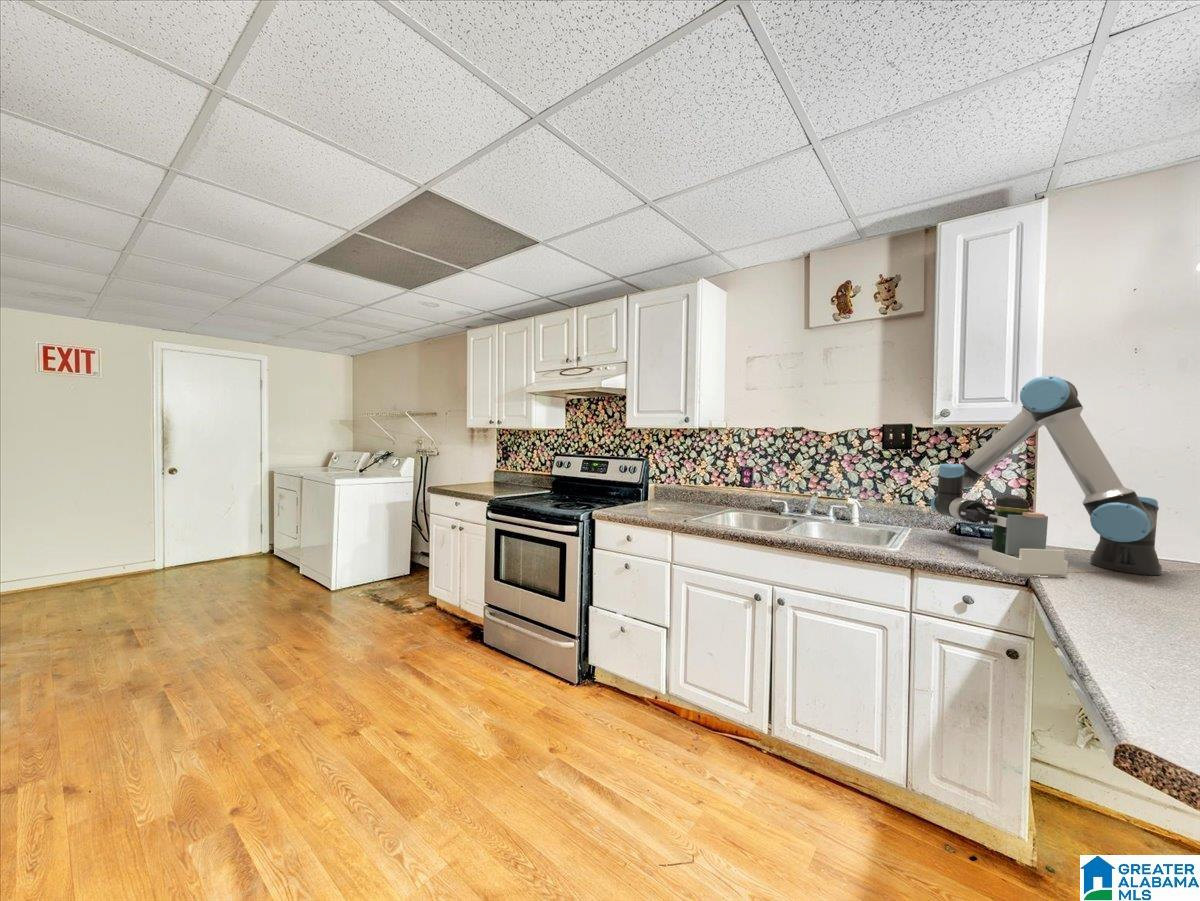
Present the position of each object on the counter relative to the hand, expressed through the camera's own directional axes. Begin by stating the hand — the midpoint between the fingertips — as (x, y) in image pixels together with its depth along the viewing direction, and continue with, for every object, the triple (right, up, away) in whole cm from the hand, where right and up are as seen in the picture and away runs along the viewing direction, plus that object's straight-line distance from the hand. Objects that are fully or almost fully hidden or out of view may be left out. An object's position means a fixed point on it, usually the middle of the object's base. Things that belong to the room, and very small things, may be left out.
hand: (1023, 523), depth 144 cm
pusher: (0, -10, -2) cm, 10 cm away
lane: (0, -14, +1) cm, 14 cm away
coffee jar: (0, -10, +5) cm, 12 cm away
